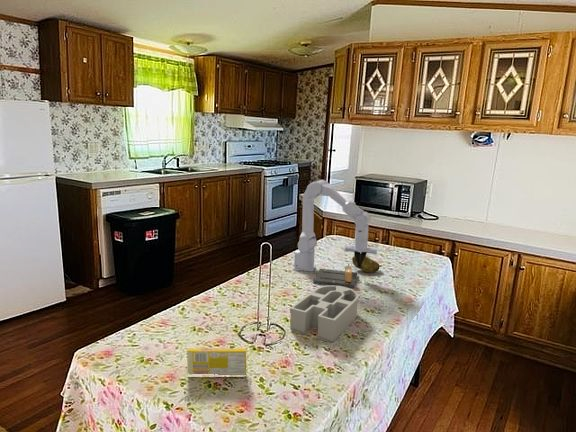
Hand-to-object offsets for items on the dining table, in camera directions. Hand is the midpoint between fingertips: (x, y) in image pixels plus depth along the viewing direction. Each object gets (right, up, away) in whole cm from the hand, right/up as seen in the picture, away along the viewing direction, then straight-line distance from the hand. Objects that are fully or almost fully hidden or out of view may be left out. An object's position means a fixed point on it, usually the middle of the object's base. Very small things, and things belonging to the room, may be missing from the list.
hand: (359, 267), depth 191 cm
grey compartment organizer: (-18, -15, -40) cm, 47 cm away
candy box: (-53, -21, -75) cm, 94 cm away
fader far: (-5, -3, +2) cm, 6 cm away
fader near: (-6, -5, -6) cm, 10 cm away
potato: (+5, -3, +12) cm, 13 cm away
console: (-11, -5, 0) cm, 12 cm away
